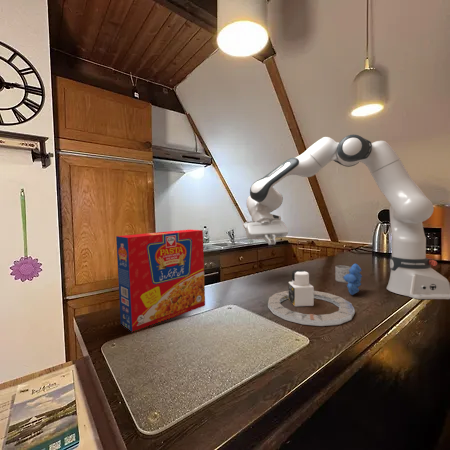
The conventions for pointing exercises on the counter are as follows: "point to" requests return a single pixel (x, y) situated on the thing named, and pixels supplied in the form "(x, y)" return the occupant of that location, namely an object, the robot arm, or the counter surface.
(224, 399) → the counter surface
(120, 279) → the pasta box
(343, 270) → the mug
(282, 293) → the turntable ring
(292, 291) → the medicine bottle
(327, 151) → the robot arm
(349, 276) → the grapes
